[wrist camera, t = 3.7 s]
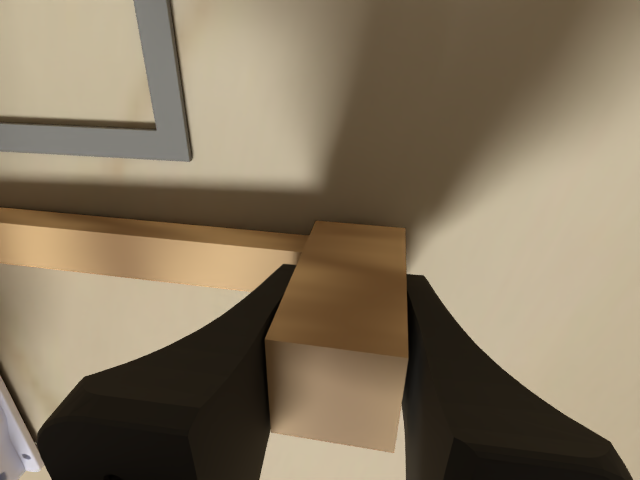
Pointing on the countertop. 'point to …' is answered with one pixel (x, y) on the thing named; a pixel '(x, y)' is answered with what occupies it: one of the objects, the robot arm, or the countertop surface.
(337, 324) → the oak crook
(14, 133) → the tape bracket
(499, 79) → the countertop surface
